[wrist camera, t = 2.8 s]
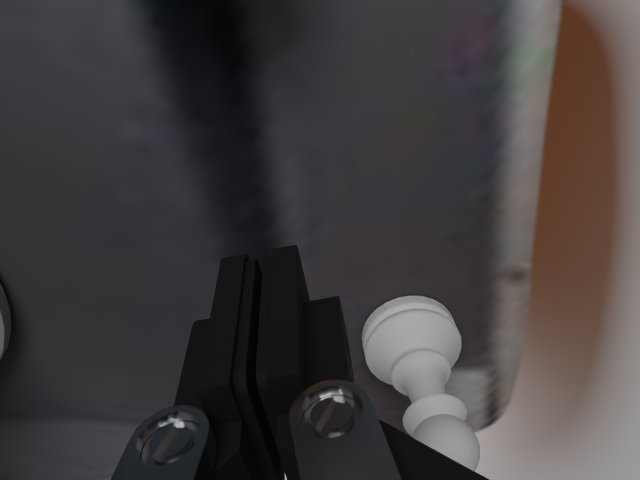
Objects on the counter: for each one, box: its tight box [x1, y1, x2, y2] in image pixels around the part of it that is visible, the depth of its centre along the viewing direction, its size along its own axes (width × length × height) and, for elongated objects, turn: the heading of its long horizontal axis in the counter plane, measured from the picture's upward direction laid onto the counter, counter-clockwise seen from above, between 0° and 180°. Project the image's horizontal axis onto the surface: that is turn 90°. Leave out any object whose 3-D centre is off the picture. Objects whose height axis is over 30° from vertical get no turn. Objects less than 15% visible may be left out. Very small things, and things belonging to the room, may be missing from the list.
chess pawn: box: [361, 296, 480, 471], centre depth 26 cm, size 5×5×9 cm
